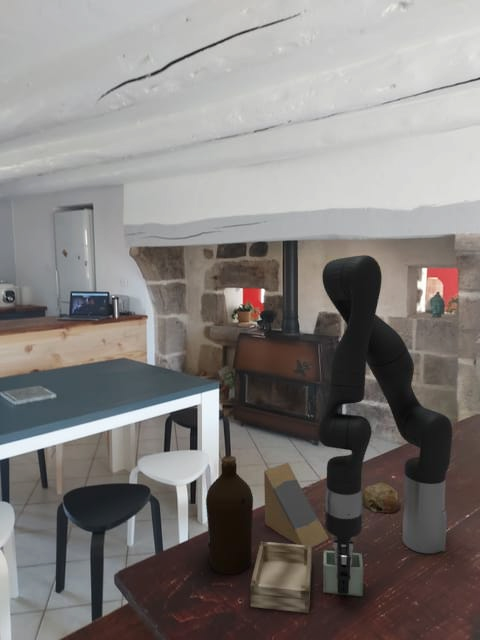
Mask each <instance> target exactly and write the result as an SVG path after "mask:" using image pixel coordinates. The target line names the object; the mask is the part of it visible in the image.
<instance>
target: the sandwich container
mask: <svg viewBox="0 0 480 640" xmlns="http://www.w3.org/2000/svg"><path fill="white" fill-rule="evenodd" d="M263 473H264V474H263V475H264V476H263V477H264V478H263V479H264V481H263V482H264V484H263V485H264V518H265V521H264V523H265V525H266V526H267V527H269V528H270V529H272V530H274V531H275V532H276V533H277V534H279V535H281V536H283V537H284V538H286V539H287V540H289V541H291V542H292V543H293V544H296V545H307V546H312V548H314V547H315V546H317V545H319V544H321V543H323V542H325V541H326V540H328V539H329V536H328V534H327V532H326V531H325V528H324V527H323V525H322V524H321V522H320V520H319V518H318V517H317V515H316V513H315V511H314V509H313V507H312V505H311V504H310V502H309V500H308V497H307V496H306V494H305V491H303V489H302V487H301V485H300V483H299V481H298V480H297V477H296V475H295V474H294V471H293V470H292V468H291V465H290V463H289V462H285V463H282V464H280V465H276V466H273V467H270V468H267V469H265V470H264V471H263Z"/></svg>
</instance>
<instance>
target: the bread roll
mask: <svg viewBox="0 0 480 640" xmlns="http://www.w3.org/2000/svg"><path fill="white" fill-rule="evenodd" d="M399 497H400V495H399V494H398V492H397V491H396V489H394V488H393V487H392V486H391V485H389V484H388V483H385V482H376V483H374V484H373V485H369V486H366V488H365V489H364V491H363V492H362V504H363V505H364V506H365V507H366V508H367V509H369V510H370V512H375V513H386V514H391V513H392V514H393V513H395V512H397V511H398V510H399V506H400V498H399Z"/></svg>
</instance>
